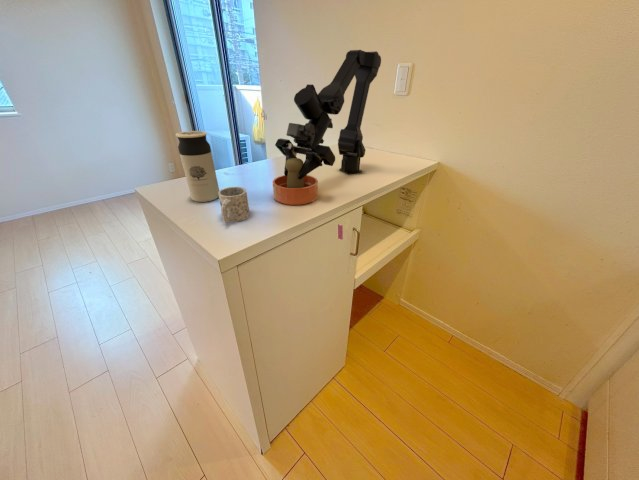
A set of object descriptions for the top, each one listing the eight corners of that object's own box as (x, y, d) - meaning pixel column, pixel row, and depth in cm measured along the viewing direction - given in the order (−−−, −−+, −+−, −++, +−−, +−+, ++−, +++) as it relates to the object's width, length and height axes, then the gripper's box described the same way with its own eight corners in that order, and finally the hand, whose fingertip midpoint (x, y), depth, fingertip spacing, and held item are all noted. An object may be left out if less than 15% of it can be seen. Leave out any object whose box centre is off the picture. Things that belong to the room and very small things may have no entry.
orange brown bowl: (305, 186, 86) (305, 171, 83) (325, 200, 76) (325, 184, 73) (267, 193, 80) (266, 177, 78) (284, 209, 71) (282, 192, 68)
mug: (229, 209, 70) (225, 186, 66) (253, 211, 69) (250, 187, 66) (212, 227, 61) (206, 201, 58) (239, 229, 61) (235, 203, 57)
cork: (308, 193, 80) (308, 157, 74) (301, 200, 75) (300, 162, 69) (290, 190, 81) (289, 155, 75) (282, 197, 76) (279, 160, 71)
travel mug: (198, 192, 80) (183, 130, 71) (224, 192, 80) (212, 131, 71) (186, 202, 74) (168, 135, 64) (214, 202, 74) (199, 136, 64)
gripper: (277, 108, 73) (252, 155, 71) (331, 113, 64) (304, 167, 62) (295, 134, 83) (274, 176, 81) (345, 141, 74) (322, 189, 72)
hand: (291, 176), depth 74 cm, fingers closed on cork, 5 cm apart
